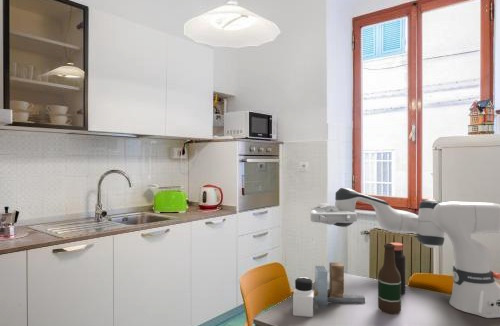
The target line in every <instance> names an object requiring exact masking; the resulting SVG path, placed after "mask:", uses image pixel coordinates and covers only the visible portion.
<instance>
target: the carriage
mask: <svg viewBox="0 0 500 326" xmlns="http://www.w3.org/2000/svg"><path fill="white" fill-rule="evenodd" d="M328 266H329V270H328V271H329V288H327V295H329V297H338V298H343V295H345V266H344V264H343V263H342V262H329V265H328Z"/></svg>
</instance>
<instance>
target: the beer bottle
mask: <svg viewBox="0 0 500 326" xmlns="http://www.w3.org/2000/svg"><path fill="white" fill-rule="evenodd" d="M383 247H384V255H383V264H382V267H381V268H380V269H379V272H378V274H377V275H378V277H377V307H378V310H379V311H380V312H382V313H385V314H387V315H399V313H401V311H402V295H401V276H400V273H399V271H398V269H397V268H396V265H395V253H394V248H395V245H393V244H390V242H388V243H385V244H384V245H383Z"/></svg>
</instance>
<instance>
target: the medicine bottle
mask: <svg viewBox="0 0 500 326" xmlns="http://www.w3.org/2000/svg"><path fill="white" fill-rule="evenodd" d="M294 282H295V283H294V284H295V285H294V290H293V295H292V315H293V316H294V317H295V316H296V317H307V318H314V315H315V295H314V291H315V289H313V280H312V279H310V278H309V277H305V276H303V277H302V276H301V277H297V278H296V279H295V280H294Z"/></svg>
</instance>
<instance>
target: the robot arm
mask: <svg viewBox="0 0 500 326" xmlns="http://www.w3.org/2000/svg"><path fill="white" fill-rule="evenodd" d="M334 198H335V201H334V205H332V203H328V202H321V203H319V204H318V205H317V206H316V207H311V210H310V215H309V216H310V222H312V223H321V224H325V225H329V226H332V225H333V226H336V227H342V228H347V227H349V226H351V225H352V224H354V222H357V221H358V214H357V213H356V206H357V204H356V203H357V202H361V203H365V204H368V205H371V207H372V208H373V209H374V211H375V216H376V219H377V222H378V224H379V226H380V227H381V228H382V229H383V230H385V231H387V232H393V233H399V234H400V233H401V234H410V233H411V234H412V233H413V234H416V235H413V236H414V238H416V239H417V241H418V242H419V243H420V244H421V245H423V246H425V247H427V248H432V249H433V248H438V247H441V246H443V245H444V242H445V234H446V235H447V236H448V238H449V240H450V243H451V244H452V249H453V266H452V281H453V285H452V291H451V295H450V298H449V302H448V303H449V305H450V306H452V307H453V308H455V309H456V310H459V311H461V312H465V313H468V314H472V315H473V314H474V315H477V316H480V317H483V318H484V319H485V318H486V319H493V318H500V284H499V283H497V281H496V280H500V273H498V272H493V271H492V270H490V268H491V267H490V264H491V263H490V260H491V259H490V254H491V253H490V251H489V249H488V247H487V246H486V245H484V244H483V243H482V242H480V241H477V240H475V239H473V238H472V236H471V235H480V234H483V235H484V234H497V233H500V204H499V203H495V202H484V201H483V202H482V201H481V202H478V201H453V200H451V201H446V202H440V201H439V200H437V199H433V198H432V199H425V200H421V201H420V202H419V204H418V215H417V214H416V213H413V212H410V211H407V210H402V209H401V210H400V209H395V208H393V207H392V206H391V205H390V203H389V202H387V201H386V200H383V199H380V198H377V197H374V196H371V195H368V194H365V193H362V192H357V191H356V190H354V189H352V188H348V187H341V188H339V189H338V190H336V192H335V197H334ZM495 279H496V280H495Z"/></svg>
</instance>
